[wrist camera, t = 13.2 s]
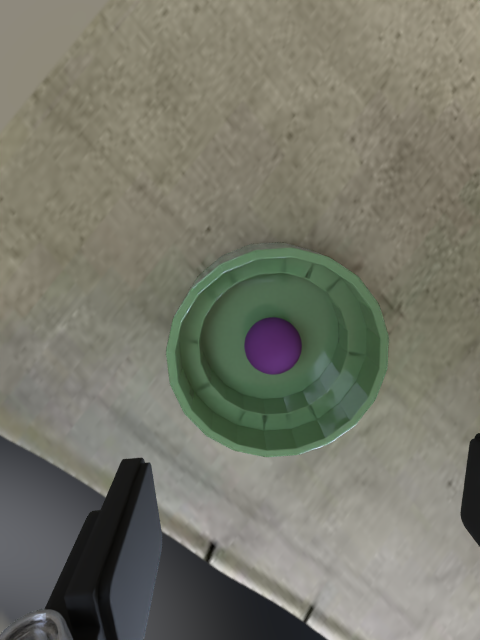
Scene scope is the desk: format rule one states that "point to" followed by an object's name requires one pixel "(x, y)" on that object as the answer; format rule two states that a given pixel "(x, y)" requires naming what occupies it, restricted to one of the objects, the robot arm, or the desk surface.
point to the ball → (273, 345)
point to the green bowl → (304, 377)
